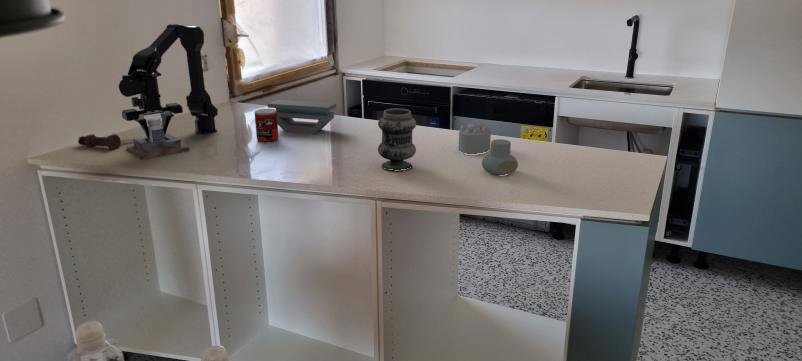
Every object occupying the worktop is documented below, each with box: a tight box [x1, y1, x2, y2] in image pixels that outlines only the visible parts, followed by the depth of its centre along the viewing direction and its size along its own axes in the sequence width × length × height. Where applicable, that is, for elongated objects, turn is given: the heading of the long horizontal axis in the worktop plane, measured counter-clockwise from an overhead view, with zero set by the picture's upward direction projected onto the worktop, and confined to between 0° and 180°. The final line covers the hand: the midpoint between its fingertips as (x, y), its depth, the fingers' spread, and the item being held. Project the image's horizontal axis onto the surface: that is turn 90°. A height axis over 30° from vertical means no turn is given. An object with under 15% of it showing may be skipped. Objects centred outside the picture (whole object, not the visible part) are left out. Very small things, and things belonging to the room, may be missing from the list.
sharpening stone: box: [267, 99, 337, 136], centre depth 230 cm, size 25×8×11 cm, turn 73°
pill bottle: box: [147, 117, 165, 143], centre depth 206 cm, size 5×5×9 cm
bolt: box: [77, 133, 122, 151], centre depth 211 cm, size 6×5×15 cm
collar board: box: [126, 132, 190, 160], centre depth 208 cm, size 16×16×4 cm
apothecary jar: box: [377, 107, 417, 170], centre depth 186 cm, size 12×12×18 cm
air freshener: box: [481, 138, 519, 176], centre depth 182 cm, size 11×8×10 cm
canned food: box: [254, 108, 279, 144], centre depth 217 cm, size 8×8×11 cm
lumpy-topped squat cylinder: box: [458, 122, 492, 154], centre depth 205 cm, size 10×13×9 cm
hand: (156, 135), depth 207 cm, fingers closed on pill bottle, 5 cm apart
